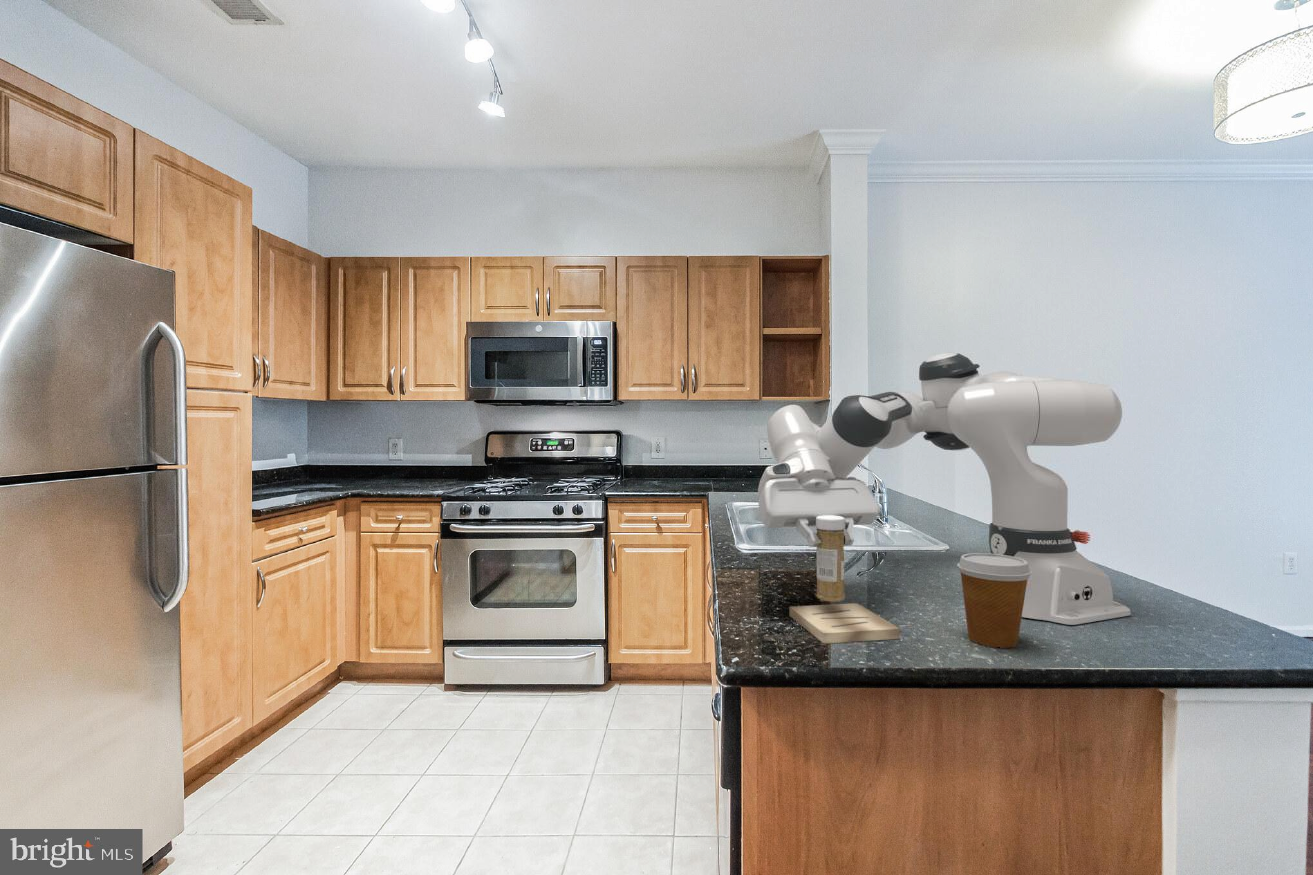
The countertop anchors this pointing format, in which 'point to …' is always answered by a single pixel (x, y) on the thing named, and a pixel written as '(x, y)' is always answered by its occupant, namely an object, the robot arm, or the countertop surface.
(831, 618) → the maple board
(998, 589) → the disposable coffee cup
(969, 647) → the countertop surface
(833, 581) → the sprinkles bottle
